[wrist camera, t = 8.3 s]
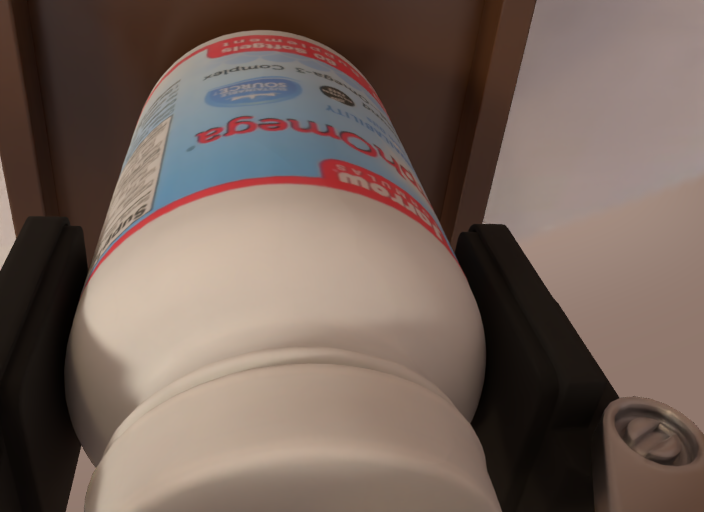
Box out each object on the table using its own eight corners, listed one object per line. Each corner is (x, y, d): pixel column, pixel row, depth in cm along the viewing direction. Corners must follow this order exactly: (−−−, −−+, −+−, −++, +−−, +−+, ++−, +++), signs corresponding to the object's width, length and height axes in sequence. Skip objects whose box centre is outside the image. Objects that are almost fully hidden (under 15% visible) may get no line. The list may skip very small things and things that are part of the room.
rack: (54, -217, 20) (-77, -234, 11) (444, -168, 22) (574, -152, 14) (100, 201, 27) (41, 374, 19) (387, 207, 30) (448, 366, 21)
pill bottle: (433, 99, 16) (699, 487, 7) (310, 284, 19) (388, 748, 10) (198, -33, 14) (138, 291, 5) (94, 199, 16) (-80, 709, 7)
